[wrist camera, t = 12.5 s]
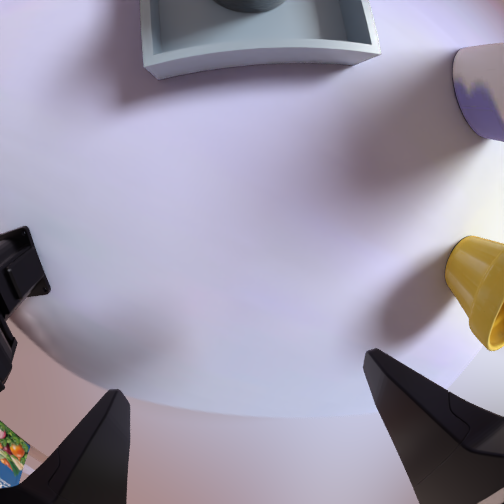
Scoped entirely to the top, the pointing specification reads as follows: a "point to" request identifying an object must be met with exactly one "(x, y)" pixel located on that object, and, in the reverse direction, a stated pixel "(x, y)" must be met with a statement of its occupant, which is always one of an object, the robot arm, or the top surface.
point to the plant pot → (479, 287)
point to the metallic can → (249, 5)
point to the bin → (254, 35)
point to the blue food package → (11, 457)
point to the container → (481, 88)
